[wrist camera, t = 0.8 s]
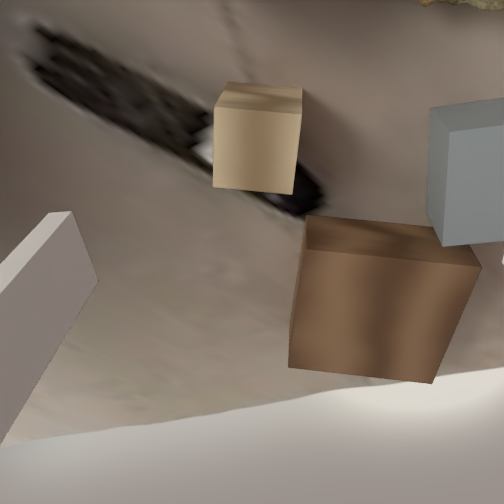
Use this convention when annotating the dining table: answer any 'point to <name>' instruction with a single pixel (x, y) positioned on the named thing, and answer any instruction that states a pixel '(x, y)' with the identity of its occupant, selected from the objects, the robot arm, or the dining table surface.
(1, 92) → the dining table surface
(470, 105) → the slate block
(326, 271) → the walnut pedestal
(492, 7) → the rock
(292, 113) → the oak block
